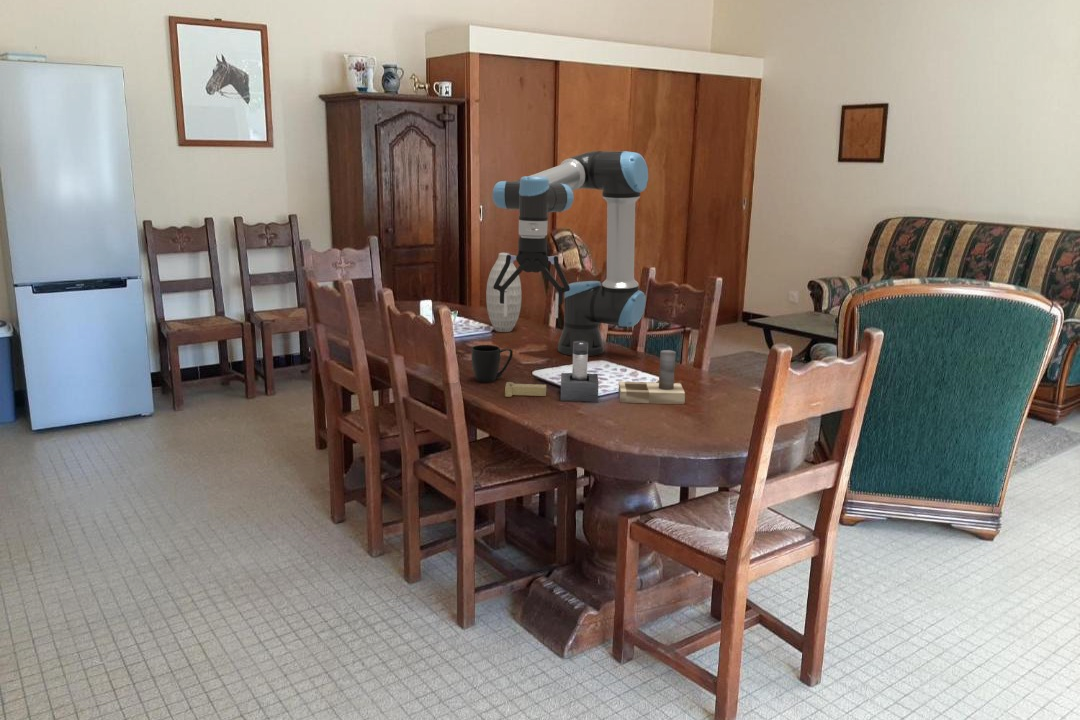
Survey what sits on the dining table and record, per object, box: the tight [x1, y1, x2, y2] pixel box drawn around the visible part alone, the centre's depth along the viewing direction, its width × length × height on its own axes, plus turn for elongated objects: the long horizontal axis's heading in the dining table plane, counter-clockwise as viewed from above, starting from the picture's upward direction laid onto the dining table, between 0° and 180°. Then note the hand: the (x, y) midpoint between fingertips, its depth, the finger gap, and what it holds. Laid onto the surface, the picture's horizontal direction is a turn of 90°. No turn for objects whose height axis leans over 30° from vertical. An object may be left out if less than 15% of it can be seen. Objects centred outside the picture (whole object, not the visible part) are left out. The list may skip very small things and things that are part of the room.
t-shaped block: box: [504, 381, 547, 398], centre depth 234 cm, size 6×11×2 cm, turn 88°
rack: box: [618, 349, 686, 405], centre depth 232 cm, size 10×17×13 cm, turn 88°
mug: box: [471, 344, 514, 384], centre depth 247 cm, size 8×12×10 cm
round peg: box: [571, 341, 589, 381], centre depth 232 cm, size 4×4×15 cm
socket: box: [559, 372, 600, 403], centre depth 233 cm, size 10×10×5 cm
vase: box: [485, 252, 522, 333], centre depth 310 cm, size 13×13×28 cm
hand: (530, 316), depth 229 cm, fingers open, 13 cm apart
